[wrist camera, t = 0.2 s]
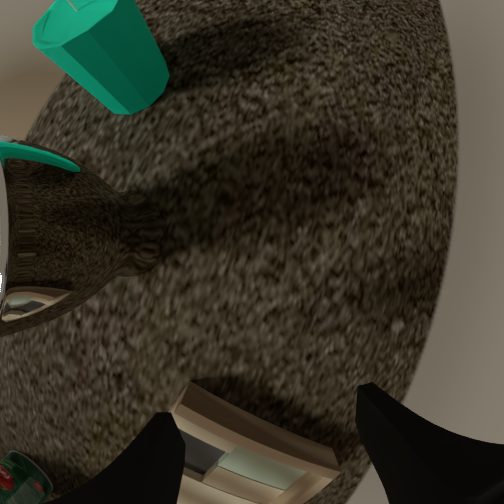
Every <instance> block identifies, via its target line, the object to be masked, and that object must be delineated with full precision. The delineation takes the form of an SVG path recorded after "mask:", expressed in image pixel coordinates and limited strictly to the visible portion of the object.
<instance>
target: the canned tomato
mask: <svg viewBox="0 0 504 504" xmlns="http://www.w3.org/2000/svg"><path fill="white" fill-rule="evenodd" d="M52 490H53V485H52V483H51V481H50V479H49V478H48V476H47V475H46V474H45V472H44V471H43V470H42V469H41V468H40V467H39V466H38V465H37V464H36V463H35V462H34V461H32V460H31V459H30V458H29V457H27V456H26V455H24V454H23V453H21V452H19V451H16V450H11V451H10V452H9V454H8V455H7V456H5V457H4V458H3V459H2V460H1V461H0V504H42V503H43V502H44V501H45V499H46V498H47V497H48V495H49V494H50V492H52Z"/></svg>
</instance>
